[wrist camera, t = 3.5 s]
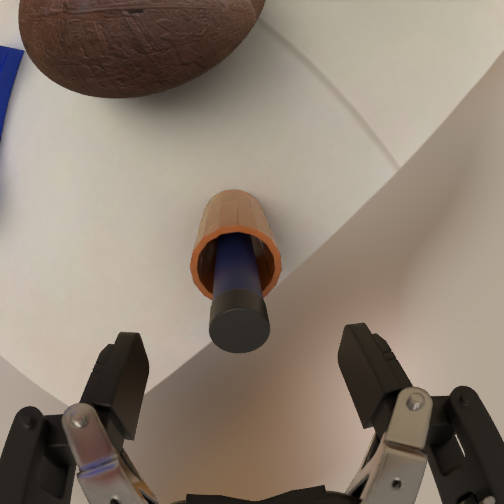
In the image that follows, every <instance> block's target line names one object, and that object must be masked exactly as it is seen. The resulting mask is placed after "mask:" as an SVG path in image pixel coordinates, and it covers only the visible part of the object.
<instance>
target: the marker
mask: <svg viewBox="0 0 504 504" xmlns="http://www.w3.org/2000/svg"><path fill="white" fill-rule="evenodd" d="M269 333H270V324H269V319H268V314H267V309H266V305H265V302H264V300H263V295H262V289H261V284H260V279H259V274H258V269H257V264H256V259H255V253H254V248H253V243H252V238H251V235H250V234H246V233H241V232H233V233H226V234H221V235H219V236H218V240H217V250H216V262H215V273H214V285H213V298H212V305H211V310H210V323H209V334H210V337H211V339H212V341H213V342H214V344H215V345H217V346H218V347H219V348H221V349H222V350H225V351H227V352H231V353H246V352H251V351H253V350H255V349H257V348H259V347H261V346H262V345H263V344H264V343H265V342H266V340H267V339H268V337H269Z"/></svg>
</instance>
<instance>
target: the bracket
mask: <svg viewBox="0 0 504 504" xmlns="http://www.w3.org/2000/svg"><path fill="white" fill-rule="evenodd" d="M23 53H24V51H23V50H18V49H14V48H9V47H3V46H0V139H1V134H2V128H3V123H4V118H5V113H6V109H7V105H8V101H9V97H10V93H11V90H12V86H13V83H14V79H15V76H16V73H17V70H18V67H19V64H20V61H21V58H22V56H23Z"/></svg>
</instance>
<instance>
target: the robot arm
mask: <svg viewBox="0 0 504 504" xmlns="http://www.w3.org/2000/svg"><path fill="white" fill-rule="evenodd" d="M338 363H339V367H340V370H341V372H342V375H343V377H344V379H345V382H346V385H347V387H348V390H349V392H350V395H351V397H352V400H353V402H354V405H355V408H356V410H357V412H358V415H359V418H360V420H361V423H362V426H363V428H364V429H366V428H369V427H374V429H375V433H374V435H373V438H372V440H371V443H370V445H369V447H368V450H367V452H366V455H365V457H364V459H363V461H362V464H361V466H360V468H359V470H358V472H357V474H356V475H355V477H354V479H353V480H352V482H351V483H350V485H349V487H348V488H347V490H346V492H345V493H340V492H335V491H326V489H325V485H321V486H316V487H311V488H305V489H299V490H292V491H289V492H286V493H283V494H280V495H277V496H274V497H271V498H268V499H265V500H261V501H249V500H243V499H237V498H231V497H227V496H222V495H195V494H187V496H186V500H182V501H178V502H174V503H172V504H414V502H415V500H416V497H417V494H418V491H419V488H420V485H421V482H422V479H423V475H424V472H425V468H426V464H427V460H428V463H429V465H430V468H431V471H432V473H433V476H434V479H435V482H436V485H437V488H438V491H439V494H440V497H441V500H442V504H504V442H503V440H502V438H501V436H500V434H499V432H498V430H497V428H496V426H495V424H494V422H493V421H492V419H491V417H490V415H489V413H488V412H487V410H486V408H485V406H484V405H483V403H482V401H481V400H480V398H479V396H478V394H477V393H476V392H475V391H474V390H473V389H471V388H470V387H467V386H459V387H456V388H455V389H454V390H453V391H452V392H451V394H450V395H449V396H430V395H429V394H428V392H426V391H425V390H424V389H421V388H419V387H413V386H412V384H411V382H410V380H409V379H408V377H407V375H406V373H405V372H404V370H403V368H402V367H401V365H400V363H399V362H398V360H397V359H396V357H395V355H394V353H393V352H391V349H390V347H389V345H388V344H387V342H386V341H385V340H384V339H383V338H381V337H380V336H379V335H378V334H371V332H370V330H369V329H368V327H367V325H366V324H365V323H358V324H350V325H346V326H345V328H344V331H343V335H342V339H341V343H340V347H339V351H338ZM148 375H149V361H148V358H147V355H146V352H145V349H144V345H143V342H142V339H141V336H140V334H139V333H134V332H120V333H119V334H118V337H117V339H116V341H115V344H108V345H107V346H106V347H105V348H104V349H103V350H102V351H101V352H100V354H99V357H98V359H97V361H96V364H95V366H94V368H93V372H92V373H91V375H90V377H89V380H88V382H87V385H86V387H85V390H84V392H83V395H82V397H81V400H80V402H79V403H77V404H73V405H71V406H70V407H68V408H67V409H66V410H65V412H64V414H60V415H46V416H44V415H43V414H42V413H41V412H40V410H38V409H37V408H35V407H32V406H28V407H25V408H22V409H21V410H20V411H19V412H18V413H17V414H16V416H15V418H14V421H13V424H12V426H11V429H10V431H9V434H8V437H7V440H6V442H5V446H4V448H3V452H2V455H1V458H0V504H70V501H71V494H72V487H73V481H74V476H75V470H76V465H78V468H79V471H80V472H79V473H77V478H78V481H79V484H80V486H81V488H82V490H83V492H84V494H85V496H86V498H87V500H88V502H89V504H162V503H161V502H160V501H159V500H158V498H157V497H156V496H155V495H154V493H153V492H152V491H151V490H150V489H149V487H148V486H147V485H146V483H145V482H144V481H143V479H142V478H141V476H140V475H139V473H138V471H137V470H136V468H135V467H134V465H133V463H132V462H131V460H130V459H129V457H128V455H127V454H126V452H125V450H124V448H123V443H124V439H127V440H134V437H135V432H136V428H137V423H138V418H139V413H140V409H141V404H142V400H143V396H144V391H145V387H146V383H147V379H148ZM456 434H457V437H458V439H459V441H460V443H461V445H462V448H463V450H464V453H465V457H464V455H463V452H462V450H461V448H460V446H459V443H458V441H457V439H456V437H455V435H456Z"/></svg>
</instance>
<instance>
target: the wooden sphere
mask: <svg viewBox="0 0 504 504" xmlns="http://www.w3.org/2000/svg"><path fill="white" fill-rule="evenodd" d="M264 3H265V0H20V4H19V16H18V18H19V30H20V35H21V39H22V42H23V45H24V47H25V50H26V52H27V54H28V55H29V57H30V59H31V60H32V62H33V63H34V64H35V65H36V67H37V68H38V69H39V70H40V71H41V72H42V73H43V74H44V75H46V76H47V77H48V78H49V79H51V80H52V81H54V82H55V83H57V84H59V85H60V86H62V87H64V88H66V89H69V90H71V91H74V92H77V93H80V94H84V95H88V96H94V97H101V98H132V97H140V96H146V95H150V94H155V93H159V92H162V91H165V90H168V89H171V88H174V87H177V86H179V85H182V84H184V83H186V82H188V81H190V80H192V79H194V78H196V77H198V76H200V75H202V74H203V73H205V72H207V71H208V70H210V69H211V68H213V67H214V66H215V65H217V64H218V63H220V62H221V61H222V60H223V59H225V58H226V57H227V56H228V55H229V54H230V53H231V52H232V51H233V50H234V49H235V48H236V47H237V46H238V45H239V44H240V43H241V42H242V41H243V40H244V38H245V37H246V36H247V35H248V33H249V32H250V31H251V29H252V28H253V26H254V24H255V23H256V21H257V19H258V17H259V15H260V13H261V11H262V9H263V6H264Z"/></svg>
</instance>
